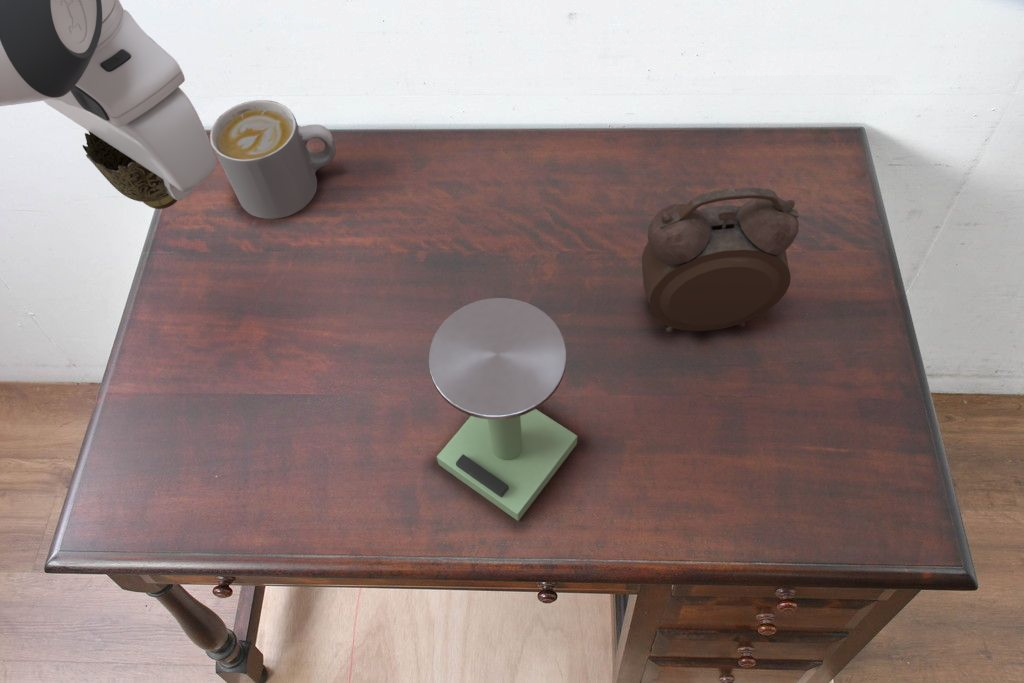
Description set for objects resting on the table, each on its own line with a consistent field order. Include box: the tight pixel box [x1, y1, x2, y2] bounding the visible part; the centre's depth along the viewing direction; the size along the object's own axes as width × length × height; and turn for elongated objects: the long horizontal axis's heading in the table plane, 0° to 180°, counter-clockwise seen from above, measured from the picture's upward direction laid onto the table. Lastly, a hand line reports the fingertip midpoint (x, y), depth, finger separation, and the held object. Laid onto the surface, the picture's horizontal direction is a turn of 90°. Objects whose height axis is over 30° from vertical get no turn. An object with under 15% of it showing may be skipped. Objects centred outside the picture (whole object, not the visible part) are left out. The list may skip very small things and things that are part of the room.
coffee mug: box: [209, 99, 337, 220], centre depth 96 cm, size 13×10×10 cm
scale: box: [436, 408, 578, 522], centre depth 73 cm, size 10×10×18 cm
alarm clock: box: [641, 187, 800, 333], centre depth 80 cm, size 15×7×20 cm, turn 94°
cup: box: [81, 131, 178, 210], centre depth 71 cm, size 8×7×8 cm
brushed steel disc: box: [428, 297, 567, 420], centre depth 64 cm, size 11×11×2 cm
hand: (151, 174), depth 72 cm, fingers closed on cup, 7 cm apart
